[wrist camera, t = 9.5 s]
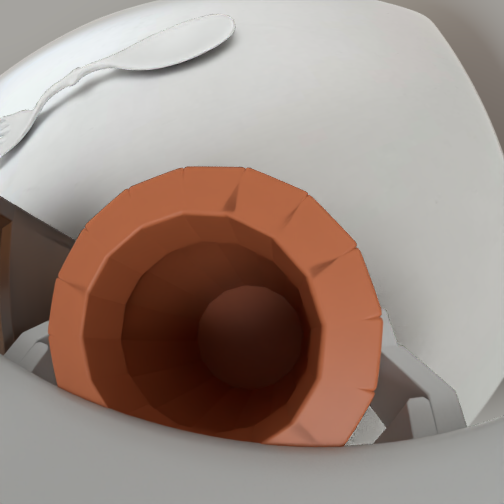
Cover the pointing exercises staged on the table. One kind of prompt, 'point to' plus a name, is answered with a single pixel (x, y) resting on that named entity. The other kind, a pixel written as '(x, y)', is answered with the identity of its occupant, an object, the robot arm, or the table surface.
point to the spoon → (131, 64)
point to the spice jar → (220, 311)
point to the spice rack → (27, 270)
